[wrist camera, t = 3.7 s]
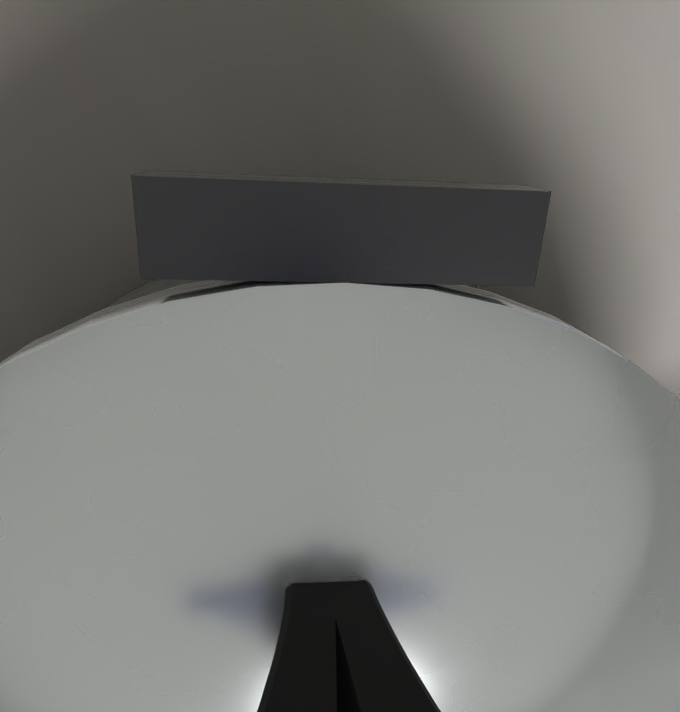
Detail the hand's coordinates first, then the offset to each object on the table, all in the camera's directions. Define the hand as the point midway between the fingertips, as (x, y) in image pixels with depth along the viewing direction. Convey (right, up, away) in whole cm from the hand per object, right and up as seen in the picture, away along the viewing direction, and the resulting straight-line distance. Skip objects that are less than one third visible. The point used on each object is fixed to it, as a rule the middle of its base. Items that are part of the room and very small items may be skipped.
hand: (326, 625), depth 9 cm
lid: (0, -2, +1) cm, 2 cm away
